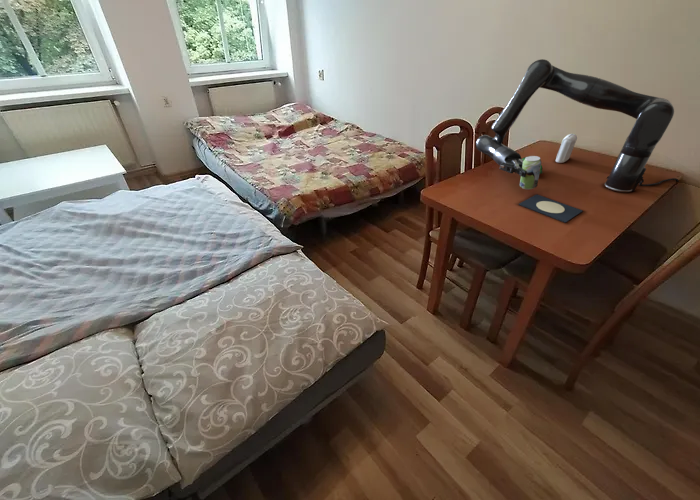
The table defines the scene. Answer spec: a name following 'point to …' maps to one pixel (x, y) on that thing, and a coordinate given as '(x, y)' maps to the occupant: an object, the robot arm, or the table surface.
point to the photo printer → (566, 148)
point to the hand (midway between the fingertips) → (530, 174)
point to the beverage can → (530, 172)
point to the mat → (551, 208)
